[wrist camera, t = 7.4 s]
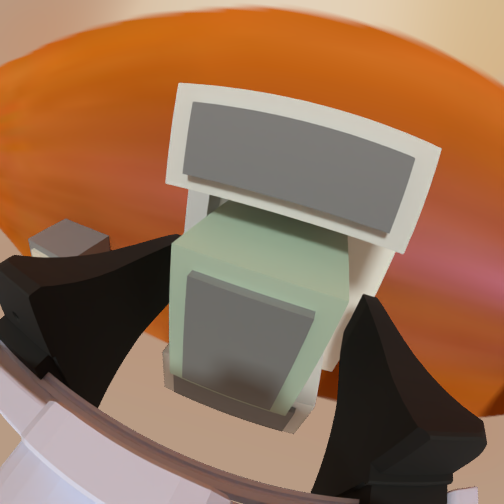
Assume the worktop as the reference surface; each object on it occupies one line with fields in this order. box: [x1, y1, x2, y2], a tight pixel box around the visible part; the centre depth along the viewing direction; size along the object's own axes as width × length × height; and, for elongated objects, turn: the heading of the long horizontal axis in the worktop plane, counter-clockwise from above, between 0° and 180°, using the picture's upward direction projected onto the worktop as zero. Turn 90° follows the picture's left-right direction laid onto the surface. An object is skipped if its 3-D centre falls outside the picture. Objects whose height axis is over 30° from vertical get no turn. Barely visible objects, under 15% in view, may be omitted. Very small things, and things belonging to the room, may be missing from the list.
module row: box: [162, 83, 442, 434], centre depth 12 cm, size 10×14×6 cm
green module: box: [169, 200, 349, 416], centre depth 11 cm, size 4×6×7 cm
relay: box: [28, 219, 110, 257], centre depth 17 cm, size 5×3×4 cm, turn 79°
